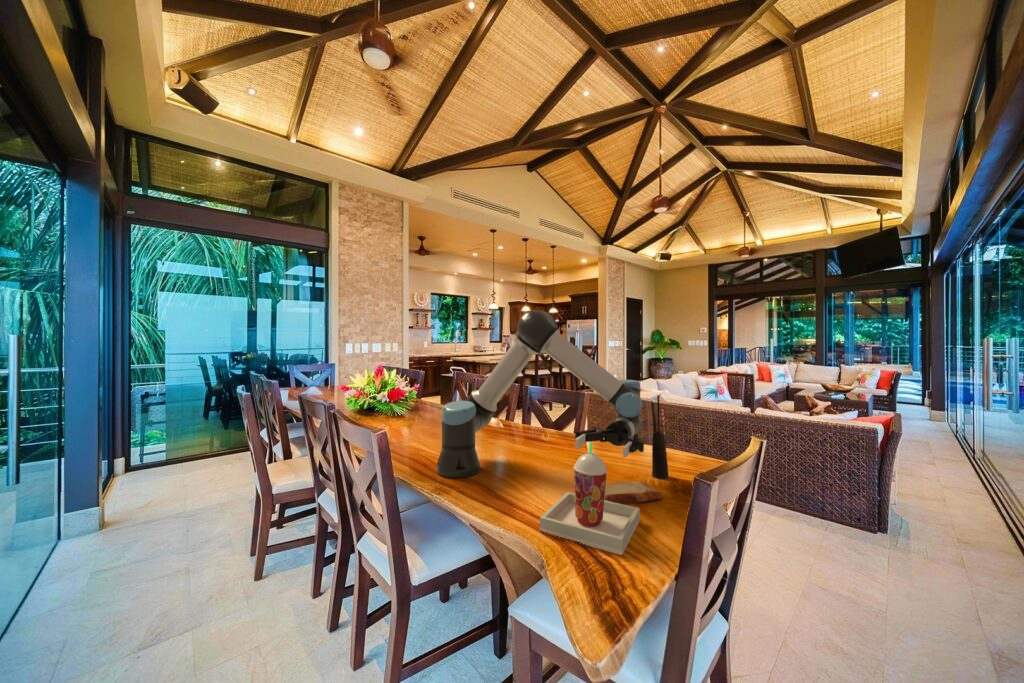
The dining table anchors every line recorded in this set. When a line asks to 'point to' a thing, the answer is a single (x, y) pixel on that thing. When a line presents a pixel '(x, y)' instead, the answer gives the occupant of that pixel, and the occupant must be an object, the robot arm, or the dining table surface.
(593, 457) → the smoothie
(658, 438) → the black vase with stems
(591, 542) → the tray
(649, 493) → the slice of bread
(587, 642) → the dining table surface
